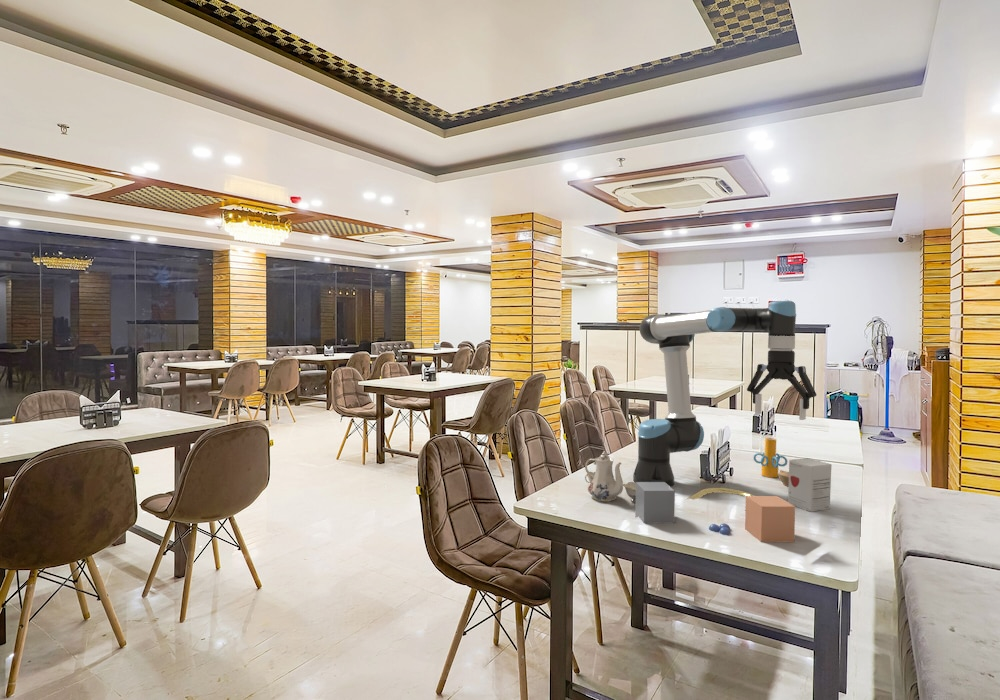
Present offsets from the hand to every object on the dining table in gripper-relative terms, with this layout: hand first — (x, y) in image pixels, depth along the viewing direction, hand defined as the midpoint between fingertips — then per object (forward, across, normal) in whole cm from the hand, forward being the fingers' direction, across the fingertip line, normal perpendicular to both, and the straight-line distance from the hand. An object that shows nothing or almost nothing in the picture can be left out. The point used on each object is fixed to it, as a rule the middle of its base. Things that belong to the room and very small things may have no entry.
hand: (779, 416), depth 170 cm
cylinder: (+31, +21, -42) cm, 56 cm away
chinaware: (+31, +44, +29) cm, 61 cm away
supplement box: (+31, -4, -14) cm, 34 cm away
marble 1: (+29, +2, +34) cm, 45 cm away
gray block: (+31, +19, +39) cm, 53 cm away
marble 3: (+29, 0, +34) cm, 45 cm away
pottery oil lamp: (+31, +6, -28) cm, 42 cm away
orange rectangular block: (+31, -9, +26) cm, 41 cm away
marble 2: (+29, +1, +31) cm, 43 cm away
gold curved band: (+31, +15, +8) cm, 36 cm away
